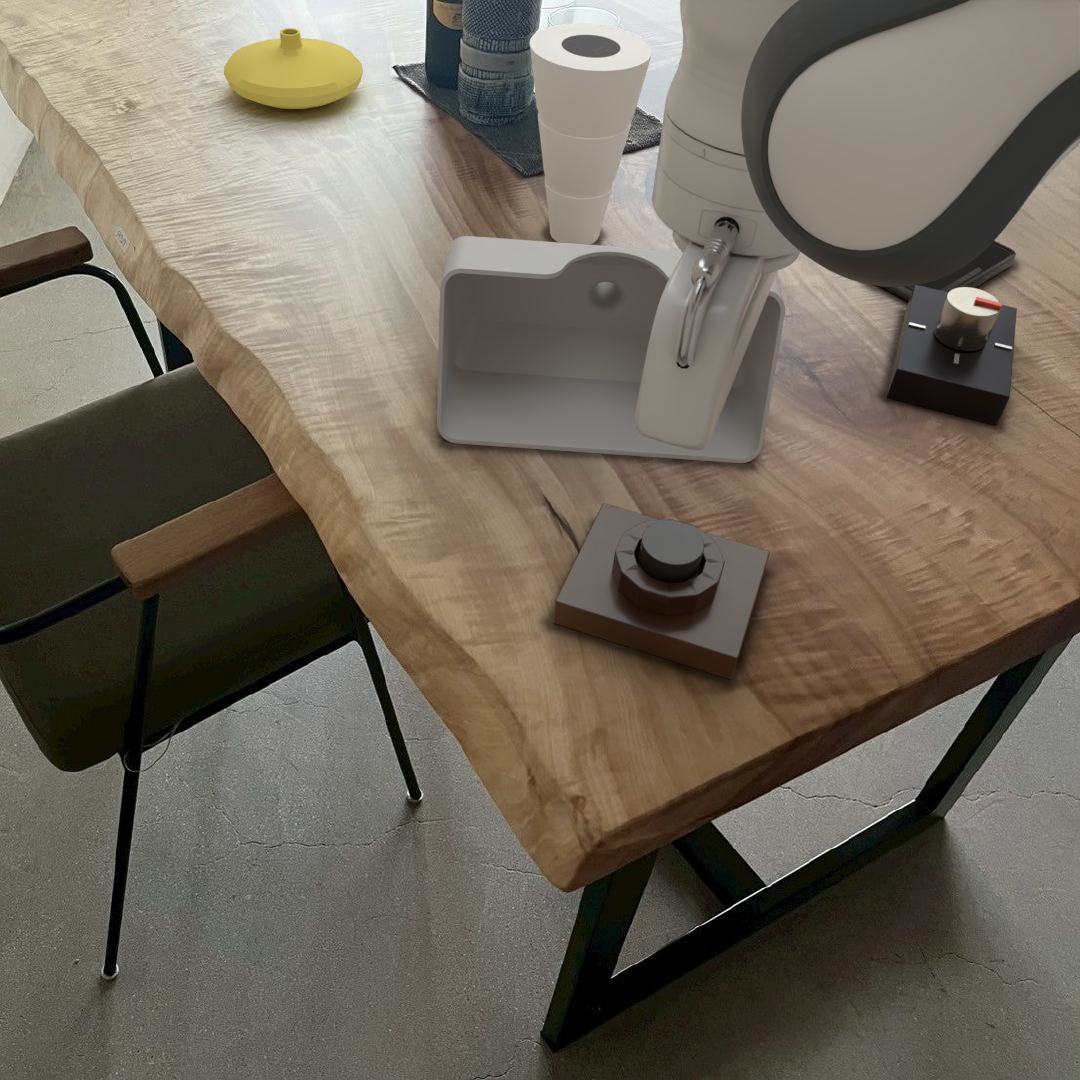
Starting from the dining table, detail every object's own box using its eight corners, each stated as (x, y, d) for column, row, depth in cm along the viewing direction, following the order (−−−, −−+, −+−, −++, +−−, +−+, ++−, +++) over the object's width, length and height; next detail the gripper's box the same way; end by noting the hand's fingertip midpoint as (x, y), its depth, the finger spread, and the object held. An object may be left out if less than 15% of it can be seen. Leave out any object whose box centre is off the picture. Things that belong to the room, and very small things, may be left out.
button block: (763, 572, 73) (776, 532, 70) (731, 680, 66) (743, 640, 63) (599, 524, 75) (605, 483, 72) (552, 623, 68) (556, 582, 66)
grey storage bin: (740, 344, 92) (770, 213, 83) (759, 464, 81) (797, 327, 72) (456, 324, 92) (456, 190, 83) (436, 442, 80) (433, 302, 72)
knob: (930, 342, 88) (945, 304, 86) (937, 316, 91) (951, 278, 88) (983, 357, 87) (1000, 318, 85) (988, 330, 90) (1005, 291, 87)
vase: (238, 65, 127) (228, 3, 122) (368, 70, 129) (364, 9, 124) (217, 122, 117) (206, 57, 111) (360, 126, 118) (356, 62, 113)
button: (706, 549, 69) (710, 530, 68) (691, 591, 66) (695, 572, 65) (648, 532, 70) (651, 513, 68) (630, 572, 67) (634, 553, 66)
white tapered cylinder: (649, 235, 104) (676, 49, 91) (580, 275, 98) (598, 81, 86) (569, 196, 109) (584, 14, 96) (498, 231, 103) (504, 42, 90)
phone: (866, 267, 100) (953, 220, 107) (863, 277, 101) (949, 230, 108) (936, 304, 96) (1021, 253, 103) (932, 314, 97) (1017, 263, 104)
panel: (904, 312, 97) (915, 282, 95) (1004, 336, 95) (1017, 306, 93) (886, 397, 88) (897, 367, 85) (996, 425, 86) (1010, 395, 84)
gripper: (771, 304, 42) (711, 546, 51) (848, 109, 55) (788, 329, 65) (620, 268, 43) (589, 510, 53) (731, 85, 57) (691, 305, 66)
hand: (700, 408), depth 59 cm, fingers open, 3 cm apart
